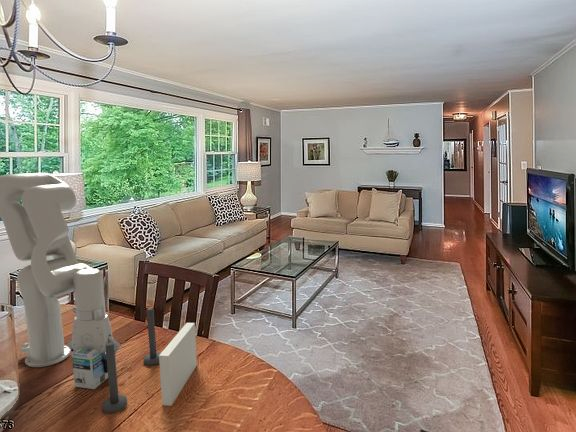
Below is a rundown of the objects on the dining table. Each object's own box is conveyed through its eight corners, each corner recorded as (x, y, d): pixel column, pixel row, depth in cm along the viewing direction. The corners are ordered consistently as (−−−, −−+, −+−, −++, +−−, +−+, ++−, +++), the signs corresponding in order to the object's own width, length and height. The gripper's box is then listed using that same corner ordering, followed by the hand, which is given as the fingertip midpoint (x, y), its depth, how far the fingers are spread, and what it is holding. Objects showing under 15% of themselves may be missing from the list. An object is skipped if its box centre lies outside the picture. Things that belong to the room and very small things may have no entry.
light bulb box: (94, 390, 111) (91, 354, 109) (73, 387, 112) (70, 351, 110) (117, 369, 121) (115, 336, 119) (98, 367, 123) (95, 334, 121)
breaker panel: (157, 404, 104) (154, 355, 102) (185, 364, 124) (183, 322, 122) (171, 405, 104) (168, 356, 102) (196, 365, 123) (194, 322, 121)
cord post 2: (140, 365, 124) (136, 312, 121) (148, 355, 130) (145, 305, 127) (158, 366, 123) (155, 313, 121) (166, 356, 129) (163, 306, 126)
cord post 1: (97, 412, 101) (91, 349, 99) (110, 398, 107) (105, 338, 104) (119, 414, 101) (114, 351, 98) (131, 399, 107) (126, 339, 104)
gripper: (53, 316, 111) (59, 375, 113) (112, 319, 109) (117, 378, 112) (71, 305, 118) (76, 361, 121) (126, 308, 116) (130, 364, 119)
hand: (95, 369), depth 116 cm, fingers closed on light bulb box, 7 cm apart
